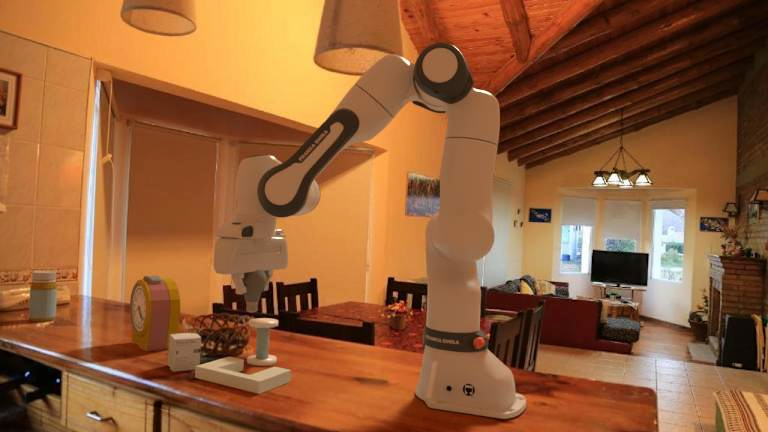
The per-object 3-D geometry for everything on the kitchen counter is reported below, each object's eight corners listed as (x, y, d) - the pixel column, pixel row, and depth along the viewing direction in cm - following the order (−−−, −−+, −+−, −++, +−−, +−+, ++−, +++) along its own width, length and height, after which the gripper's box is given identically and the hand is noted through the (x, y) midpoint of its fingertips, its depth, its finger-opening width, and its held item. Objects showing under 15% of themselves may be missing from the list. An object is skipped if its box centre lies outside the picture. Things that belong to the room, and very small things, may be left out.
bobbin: (282, 361, 131) (284, 320, 131) (263, 367, 125) (265, 325, 125) (260, 356, 134) (262, 317, 134) (240, 362, 128) (242, 321, 128)
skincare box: (171, 372, 118) (173, 339, 118) (167, 365, 123) (168, 333, 123) (200, 369, 121) (201, 337, 121) (194, 362, 127) (196, 331, 127)
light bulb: (266, 314, 114) (267, 267, 115) (237, 314, 113) (239, 267, 113) (265, 309, 120) (266, 265, 120) (237, 310, 119) (238, 265, 119)
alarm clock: (127, 341, 144) (130, 273, 144) (158, 337, 149) (161, 272, 149) (145, 353, 132) (148, 279, 132) (178, 349, 138) (181, 278, 138)
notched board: (290, 381, 115) (291, 370, 115) (259, 393, 107) (259, 381, 107) (228, 367, 124) (229, 356, 124) (195, 377, 115) (195, 366, 115)
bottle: (60, 320, 165) (62, 272, 165) (35, 323, 159) (38, 273, 159) (48, 317, 169) (50, 270, 169) (24, 320, 163) (26, 271, 163)
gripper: (274, 228, 127) (272, 286, 127) (209, 228, 109) (206, 295, 109) (295, 229, 124) (293, 289, 124) (232, 229, 106) (229, 299, 106)
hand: (252, 292), depth 117 cm, fingers closed on light bulb, 6 cm apart
